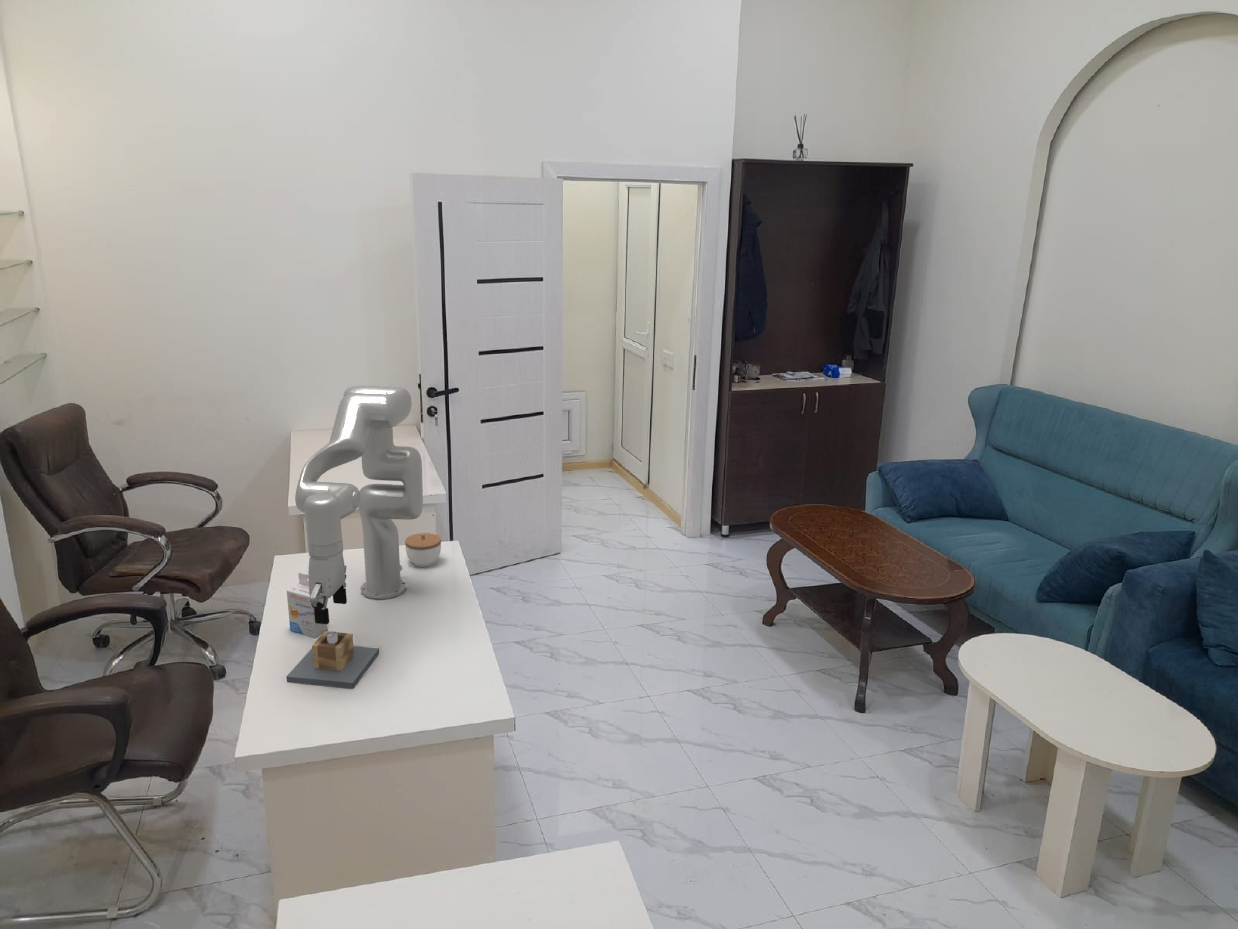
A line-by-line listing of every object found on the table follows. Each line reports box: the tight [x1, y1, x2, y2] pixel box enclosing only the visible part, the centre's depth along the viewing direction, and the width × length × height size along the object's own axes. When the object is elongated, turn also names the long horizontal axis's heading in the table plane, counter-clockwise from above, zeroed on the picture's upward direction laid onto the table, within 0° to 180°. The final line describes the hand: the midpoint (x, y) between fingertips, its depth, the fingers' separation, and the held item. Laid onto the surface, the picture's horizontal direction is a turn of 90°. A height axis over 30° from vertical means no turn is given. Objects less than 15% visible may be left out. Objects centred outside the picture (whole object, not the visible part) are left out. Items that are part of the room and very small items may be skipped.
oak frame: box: [311, 630, 355, 671], centre depth 211 cm, size 7×7×6 cm
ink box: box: [286, 572, 328, 639], centre depth 227 cm, size 8×5×15 cm, turn 67°
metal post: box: [327, 631, 338, 645], centre depth 211 cm, size 2×2×8 cm
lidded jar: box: [404, 532, 442, 568], centre depth 269 cm, size 11×11×9 cm
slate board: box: [285, 645, 380, 689], centre depth 212 cm, size 16×16×2 cm
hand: (331, 613), depth 209 cm, fingers open, 9 cm apart
